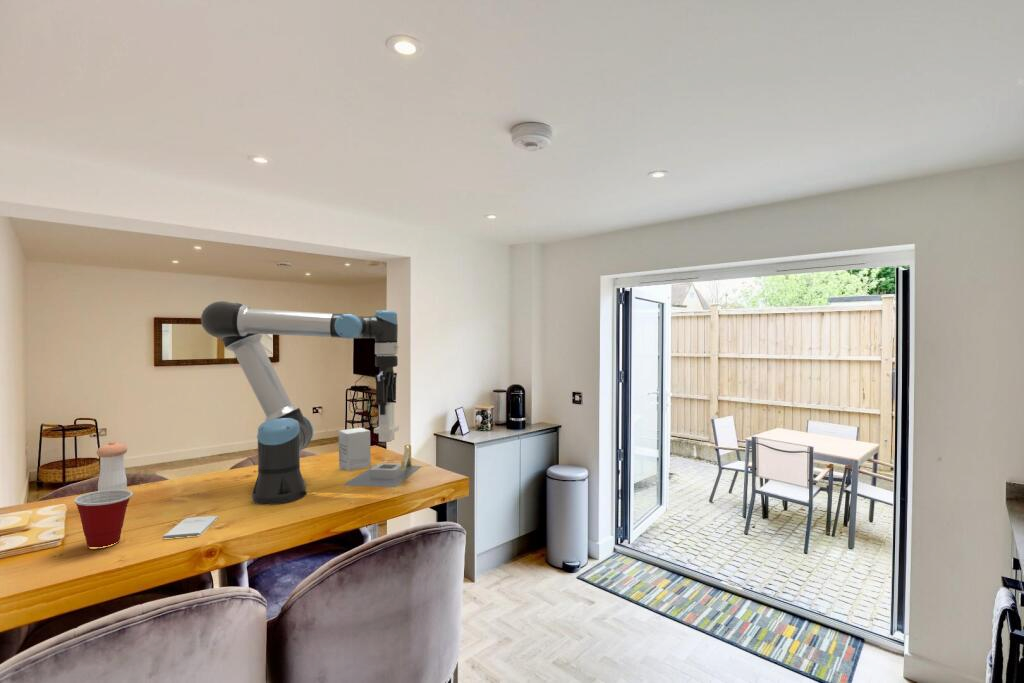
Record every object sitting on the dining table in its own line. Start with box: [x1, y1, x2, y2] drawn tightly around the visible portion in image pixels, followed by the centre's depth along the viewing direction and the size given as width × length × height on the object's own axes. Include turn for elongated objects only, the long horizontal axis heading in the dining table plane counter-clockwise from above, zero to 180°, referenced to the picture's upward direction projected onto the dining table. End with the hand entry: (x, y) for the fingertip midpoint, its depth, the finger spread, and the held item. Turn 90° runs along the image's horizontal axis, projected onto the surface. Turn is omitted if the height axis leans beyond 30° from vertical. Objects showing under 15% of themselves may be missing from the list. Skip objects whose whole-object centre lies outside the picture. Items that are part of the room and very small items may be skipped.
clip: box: [400, 444, 412, 470], centre depth 170 cm, size 2×25×7 cm, turn 8°
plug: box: [373, 402, 400, 443], centre depth 170 cm, size 6×6×13 cm
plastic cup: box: [73, 489, 134, 547], centre depth 117 cm, size 11×11×12 cm
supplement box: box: [338, 427, 372, 471], centre depth 182 cm, size 9×9×15 cm
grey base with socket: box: [343, 462, 422, 488], centre depth 170 cm, size 18×26×4 cm
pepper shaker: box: [96, 440, 128, 491], centre depth 144 cm, size 7×7×19 cm
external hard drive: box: [162, 515, 219, 539], centre depth 127 cm, size 2×8×12 cm
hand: (386, 422), depth 170 cm, fingers closed on plug, 4 cm apart
